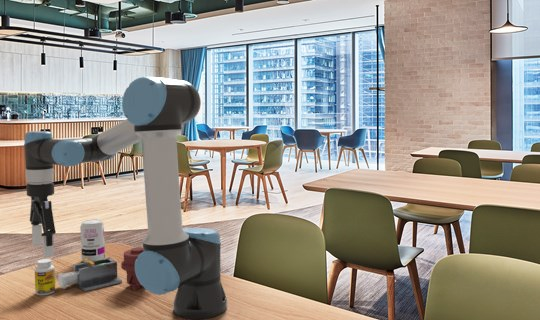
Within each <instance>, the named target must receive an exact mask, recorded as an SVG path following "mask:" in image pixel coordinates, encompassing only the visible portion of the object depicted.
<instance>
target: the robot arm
mask: <svg viewBox="0 0 540 320" xmlns="http://www.w3.org/2000/svg"><path fill="white" fill-rule="evenodd" d="M201 101H202V100H201V96H200V93H199V91H198V90H197V88H196V87H195V86H194V85H193V84H192V83H190V82H189V81H187V80H183V79H174V78H173V79H172V78H166V77H158V76H141V77H138V78H136V79H134V80H133V81H131V82H130V83H129V86H128V87H126V89H125V91H124V93H123V97H122V101H121V103H122V104H121V108H122V112H123V115H124V117H125V118H126V119H124V120H123V121H120V122H119V123H117V124H115V125H114V126H111V127H110V128H109V127H108V129H106V130H104V131H102V132H100V133H98V134H96V135H95V136H91V137H85V138H84V137H83V138H66V139H60V138H59V139H56V138H54V137H53V134H52V132H51V131H44V130H41V131H35V130H34V131H26V132H25V134H24V144H23V149H24V161H25V162H24V163H25V182H26V183H27V184H26V187H25V188H26V196H28V197H30V199H31V201H30V213H29V214H30V215H29V221H30V224H31V237H32V241H31V242H32V247H37V246H42V245H43V246H42V248H43V250H42V251H43V258H47V257H53V256H55V245H54V243H55V242H54V241H55V238H54V235H56V226H55V221H54V214H53V207H52V206H53V205H52V200H48V197H50V196H53V195H55V183H54V182H53V181H54V180H55V179H54V174H56V171H55V170H54V165H56V166H62V167H77V166H78V165H80V164H85V163H92V162H93V163H95V162H105V161H108V160H112V159H114V158H115V157H116V155H117V153H118V152H120V151H123V150H124V149H127V148H129V147H131V146H132V145H136V144H137V143H139V142H141V151H142V153H141V154H142V165H143V178H144V179H143V181H144V193H145V207H146V218H147V219H146V220H147V221H146V222H147V234H146V235H145V237H144V238H143V239H142V248H143V252H142V253H140V255H139V256H138V258H137V259H136V261H135V273H136V276H137V279H138V281H139V282H140V284H141V285H143V289H144V290H146V291H147V292H149V293H151V294H153V295H160V296H161V295H162V296H163V295H166V294H169V293H171V292H175V291H176V294H175V296H174V300H173V312H174V313H175V315H177V316H179V317H180V318H184V319H190V320H204V319H211V318H213V317H217V316H219V315H221V314H223V313H224V312H225V311H226V310H227V307H228V306H227V305H228V299H227V298H228V297H227V296H226V293H225V290H224V287H223V285H222V284H223V283H222V281H221V280H222V279H221V246H222V242H221V235H220V232H218V231H217V230H215V229H212V228H206V227H185V228H183V220H182V219H183V218H182V217H183V216H182V204H181V189H180V174H179V160H178V159H179V157H178V145H177V143H178V142H177V137H178V136H179V135H180V133H181V132H182V130H183V129H182V126H183V125H184V124H185V125H186V124H187V123H189V122H191V121H192V120H194V119H195V118H196V117H197V115H198V114H199V112H200V110H201V103H202V102H201Z"/></svg>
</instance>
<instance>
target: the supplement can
mask: <svg viewBox="0 0 540 320" xmlns="http://www.w3.org/2000/svg"><path fill="white" fill-rule="evenodd" d="M104 225H105V224H104V222H103V220H102V219H86V220H83V221H81V224H80V249H81V250H80V253H81V261H82V263H85V262H86V261H85V260H84V258H88V259H89V260H91V261H93V260H97V259H104V258H106V251H105V226H104Z"/></svg>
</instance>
